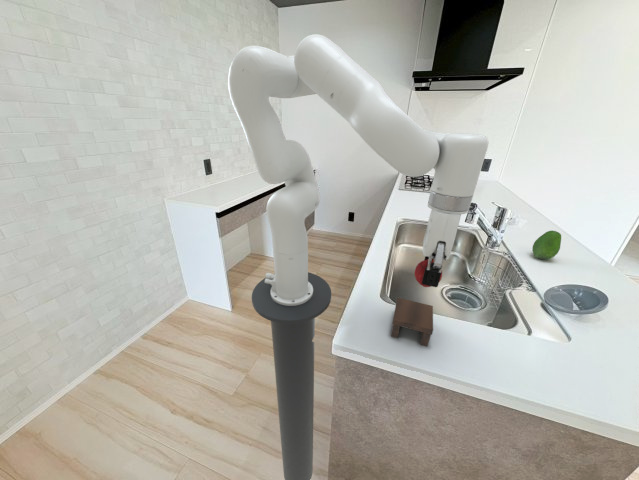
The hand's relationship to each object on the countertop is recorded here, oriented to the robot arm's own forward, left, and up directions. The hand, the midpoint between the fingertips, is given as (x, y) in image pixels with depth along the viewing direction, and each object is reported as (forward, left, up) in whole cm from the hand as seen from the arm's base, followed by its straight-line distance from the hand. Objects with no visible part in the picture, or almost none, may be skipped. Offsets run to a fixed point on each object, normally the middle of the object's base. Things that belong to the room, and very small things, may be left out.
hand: (429, 276), depth 59 cm
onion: (0, 0, -3) cm, 3 cm away
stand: (-1, 0, -17) cm, 17 cm away
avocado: (+45, +59, -17) cm, 76 cm away
